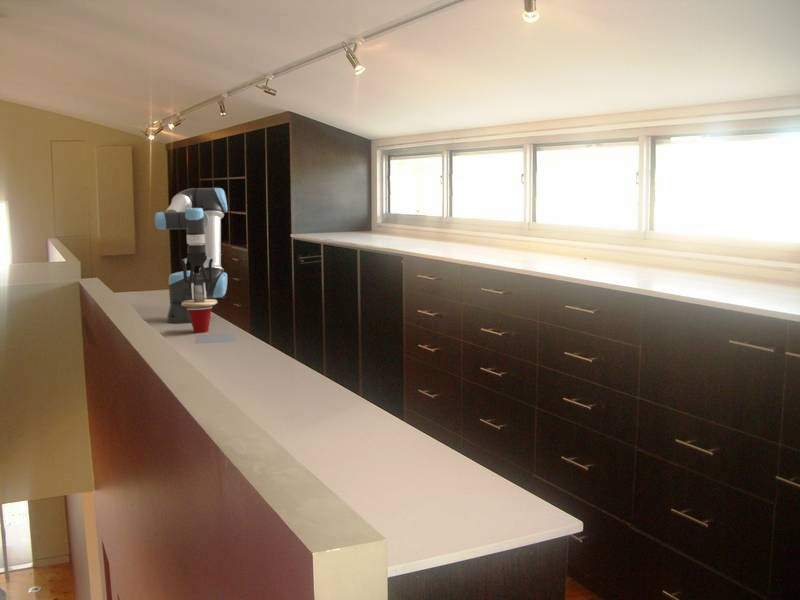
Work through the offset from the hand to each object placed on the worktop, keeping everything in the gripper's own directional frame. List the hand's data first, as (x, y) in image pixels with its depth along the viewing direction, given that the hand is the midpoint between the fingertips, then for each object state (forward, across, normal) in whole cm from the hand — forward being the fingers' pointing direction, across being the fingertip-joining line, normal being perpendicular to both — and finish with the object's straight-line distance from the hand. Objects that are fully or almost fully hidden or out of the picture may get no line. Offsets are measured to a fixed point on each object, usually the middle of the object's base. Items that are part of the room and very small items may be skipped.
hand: (199, 298), depth 344 cm
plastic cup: (+16, 0, 0) cm, 16 cm away
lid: (+3, 0, 0) cm, 3 cm away
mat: (+16, +7, -16) cm, 23 cm away
